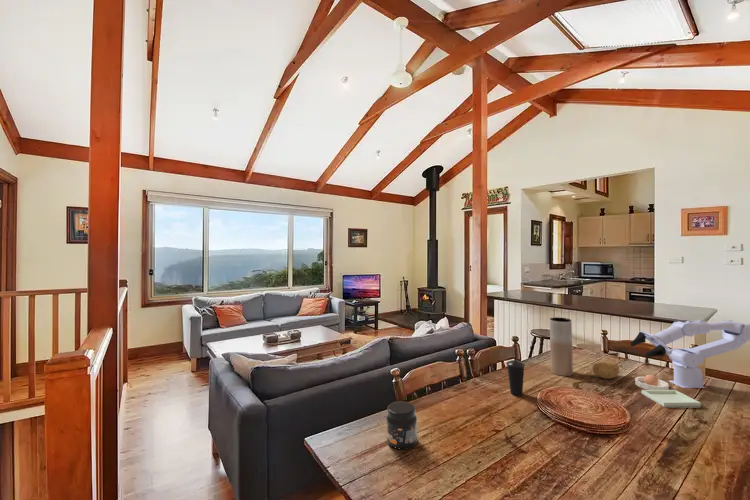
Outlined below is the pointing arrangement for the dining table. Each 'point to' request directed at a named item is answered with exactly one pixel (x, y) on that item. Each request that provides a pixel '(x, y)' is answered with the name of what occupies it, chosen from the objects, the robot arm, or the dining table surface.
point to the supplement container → (401, 425)
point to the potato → (606, 369)
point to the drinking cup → (516, 376)
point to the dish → (661, 385)
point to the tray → (671, 399)
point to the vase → (561, 346)
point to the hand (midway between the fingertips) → (638, 349)
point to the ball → (651, 380)
